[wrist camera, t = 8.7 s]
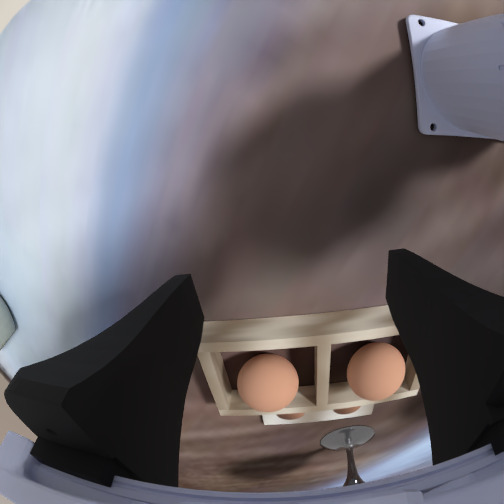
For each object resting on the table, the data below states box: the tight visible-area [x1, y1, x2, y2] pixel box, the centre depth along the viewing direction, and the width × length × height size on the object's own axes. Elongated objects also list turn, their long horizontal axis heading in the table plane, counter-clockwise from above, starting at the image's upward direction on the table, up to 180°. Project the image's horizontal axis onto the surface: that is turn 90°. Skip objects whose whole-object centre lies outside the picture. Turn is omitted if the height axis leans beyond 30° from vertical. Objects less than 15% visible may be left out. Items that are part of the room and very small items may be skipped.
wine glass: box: [321, 426, 375, 486], centre depth 26 cm, size 8×8×15 cm
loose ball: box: [237, 354, 299, 412], centre depth 24 cm, size 5×5×5 cm
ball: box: [347, 342, 405, 401], centre depth 23 cm, size 5×5×5 cm
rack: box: [197, 305, 420, 425], centre depth 25 cm, size 19×16×2 cm
